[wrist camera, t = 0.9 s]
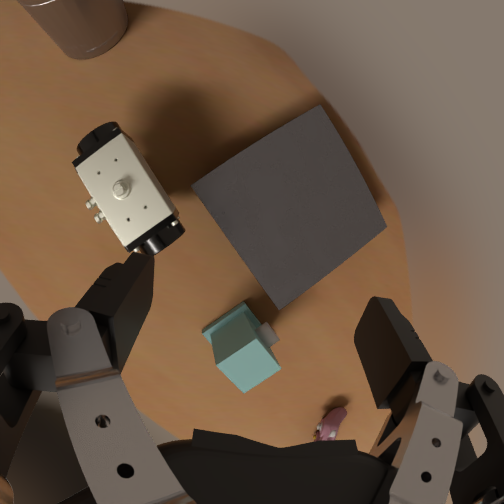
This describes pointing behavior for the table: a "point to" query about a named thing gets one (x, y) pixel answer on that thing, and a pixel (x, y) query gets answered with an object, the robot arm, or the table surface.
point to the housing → (243, 347)
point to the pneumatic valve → (126, 191)
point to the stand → (292, 205)
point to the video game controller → (330, 424)
